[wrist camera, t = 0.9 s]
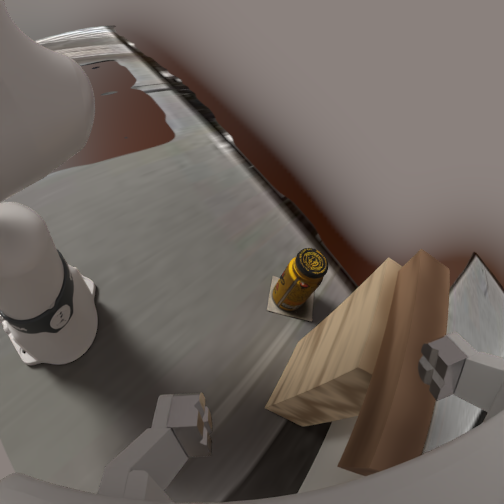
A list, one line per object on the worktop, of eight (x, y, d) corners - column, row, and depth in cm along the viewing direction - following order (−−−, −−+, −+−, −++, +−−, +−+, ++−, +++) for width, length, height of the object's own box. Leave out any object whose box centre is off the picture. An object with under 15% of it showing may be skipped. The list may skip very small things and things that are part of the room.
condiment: (272, 276, 56) (295, 237, 47) (314, 288, 57) (343, 252, 48) (266, 310, 52) (290, 275, 43) (311, 322, 53) (343, 291, 43)
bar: (335, 466, 17) (369, 467, 13) (397, 272, 29) (421, 248, 25) (375, 479, 16) (412, 480, 13) (424, 290, 28) (449, 269, 25)
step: (293, 499, 33) (343, 517, 22) (332, 421, 42) (388, 407, 31) (329, 511, 33) (386, 525, 21) (364, 435, 42) (424, 423, 30)
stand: (264, 407, 42) (358, 367, 21) (298, 342, 50) (388, 257, 29) (302, 426, 41) (418, 398, 21) (331, 360, 49) (435, 289, 29)
